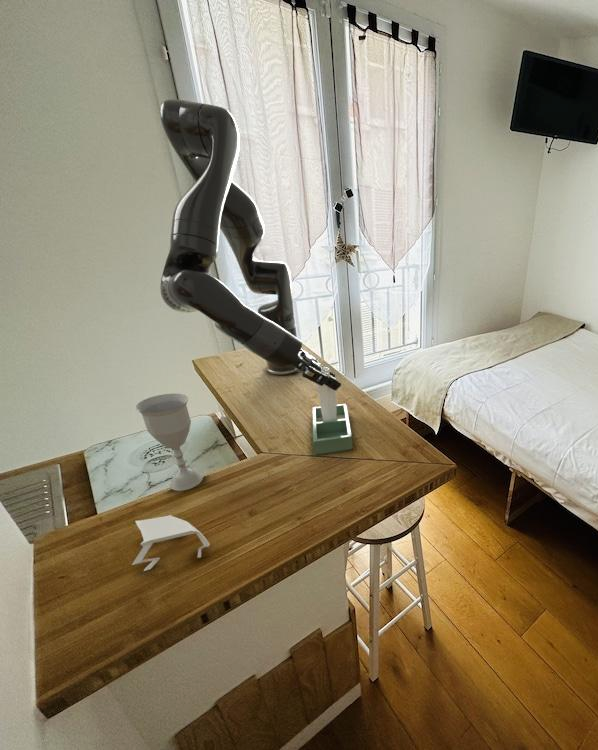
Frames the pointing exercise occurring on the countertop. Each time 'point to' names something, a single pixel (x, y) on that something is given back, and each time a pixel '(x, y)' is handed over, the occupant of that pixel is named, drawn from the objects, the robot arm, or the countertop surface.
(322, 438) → the holder
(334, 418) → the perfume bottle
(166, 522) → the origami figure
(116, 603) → the countertop surface
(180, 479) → the chalice
